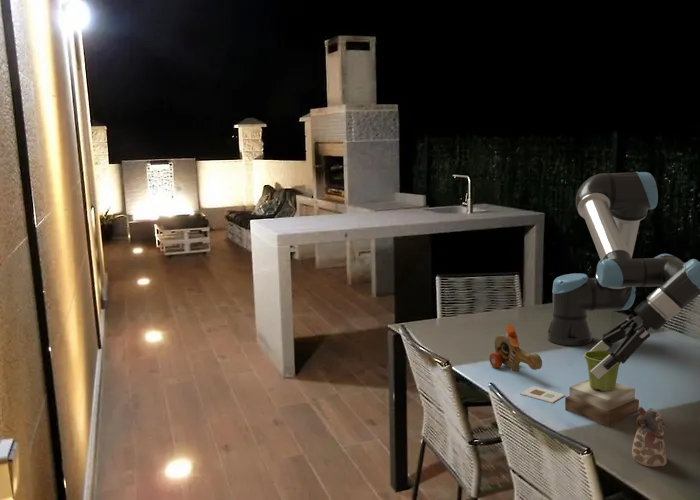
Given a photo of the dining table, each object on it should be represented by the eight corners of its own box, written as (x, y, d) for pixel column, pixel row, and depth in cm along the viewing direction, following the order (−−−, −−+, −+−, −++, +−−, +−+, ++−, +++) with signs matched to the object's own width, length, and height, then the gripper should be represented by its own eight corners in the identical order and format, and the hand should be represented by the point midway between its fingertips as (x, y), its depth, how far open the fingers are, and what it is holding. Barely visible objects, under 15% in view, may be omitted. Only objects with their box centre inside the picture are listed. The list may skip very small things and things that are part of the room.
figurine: (660, 470, 139) (662, 418, 137) (627, 460, 143) (628, 410, 141) (671, 457, 144) (673, 407, 142) (638, 448, 148) (639, 399, 147)
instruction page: (520, 394, 183) (520, 392, 183) (533, 387, 188) (533, 385, 188) (552, 403, 176) (552, 401, 176) (564, 395, 180) (564, 394, 180)
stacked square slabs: (565, 409, 171) (565, 386, 170) (595, 397, 178) (595, 375, 177) (608, 426, 160) (608, 401, 159) (638, 412, 167) (639, 388, 166)
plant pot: (577, 382, 172) (578, 351, 171) (610, 380, 173) (611, 349, 172) (593, 394, 163) (594, 361, 162) (628, 392, 164) (629, 360, 163)
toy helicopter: (507, 360, 211) (506, 320, 209) (551, 379, 193) (551, 335, 190) (486, 364, 208) (486, 324, 206) (529, 385, 189) (529, 340, 187)
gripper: (681, 333, 151) (609, 394, 157) (655, 308, 173) (593, 362, 179) (657, 311, 151) (587, 373, 157) (634, 289, 173) (573, 343, 179)
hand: (590, 367), depth 168 cm, fingers open, 11 cm apart
